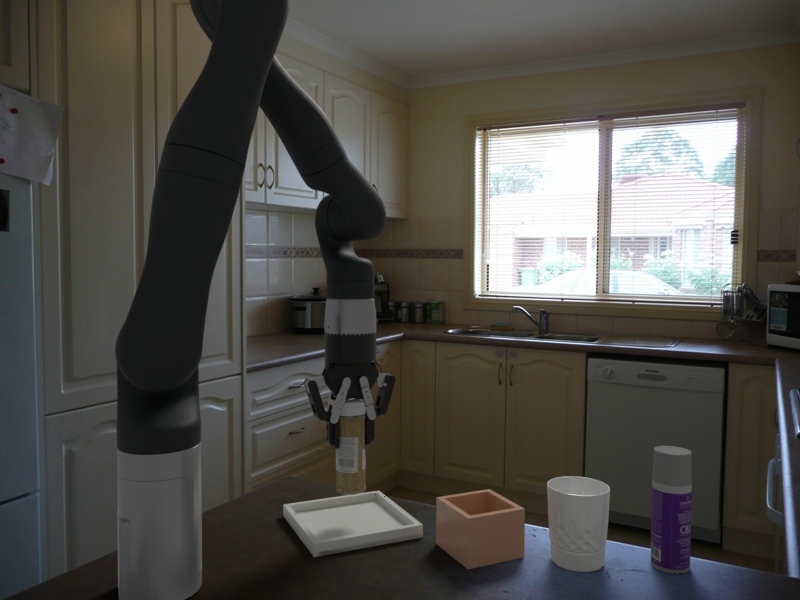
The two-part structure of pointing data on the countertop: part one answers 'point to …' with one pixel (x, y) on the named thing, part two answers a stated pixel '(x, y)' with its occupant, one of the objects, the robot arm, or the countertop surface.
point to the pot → (480, 528)
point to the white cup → (578, 522)
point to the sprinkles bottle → (351, 448)
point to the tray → (350, 523)
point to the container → (671, 509)
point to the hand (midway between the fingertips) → (350, 445)
